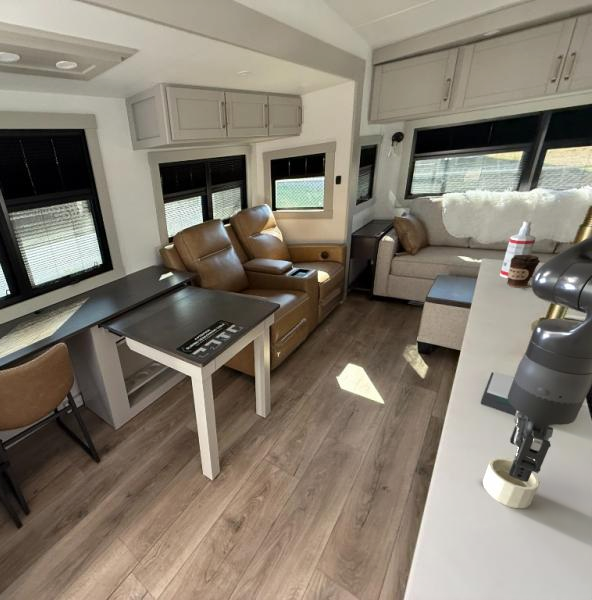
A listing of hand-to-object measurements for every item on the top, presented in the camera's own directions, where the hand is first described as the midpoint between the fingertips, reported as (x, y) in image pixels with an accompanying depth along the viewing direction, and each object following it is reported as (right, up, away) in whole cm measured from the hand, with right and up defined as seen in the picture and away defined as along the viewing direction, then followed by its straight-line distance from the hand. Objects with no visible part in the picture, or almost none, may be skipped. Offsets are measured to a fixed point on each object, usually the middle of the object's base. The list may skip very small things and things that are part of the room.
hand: (517, 460), depth 55 cm
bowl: (+1, -8, +3) cm, 9 cm away
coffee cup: (+84, +34, +81) cm, 121 cm away
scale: (+24, +3, +24) cm, 34 cm away
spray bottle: (+91, +39, +90) cm, 134 cm away
